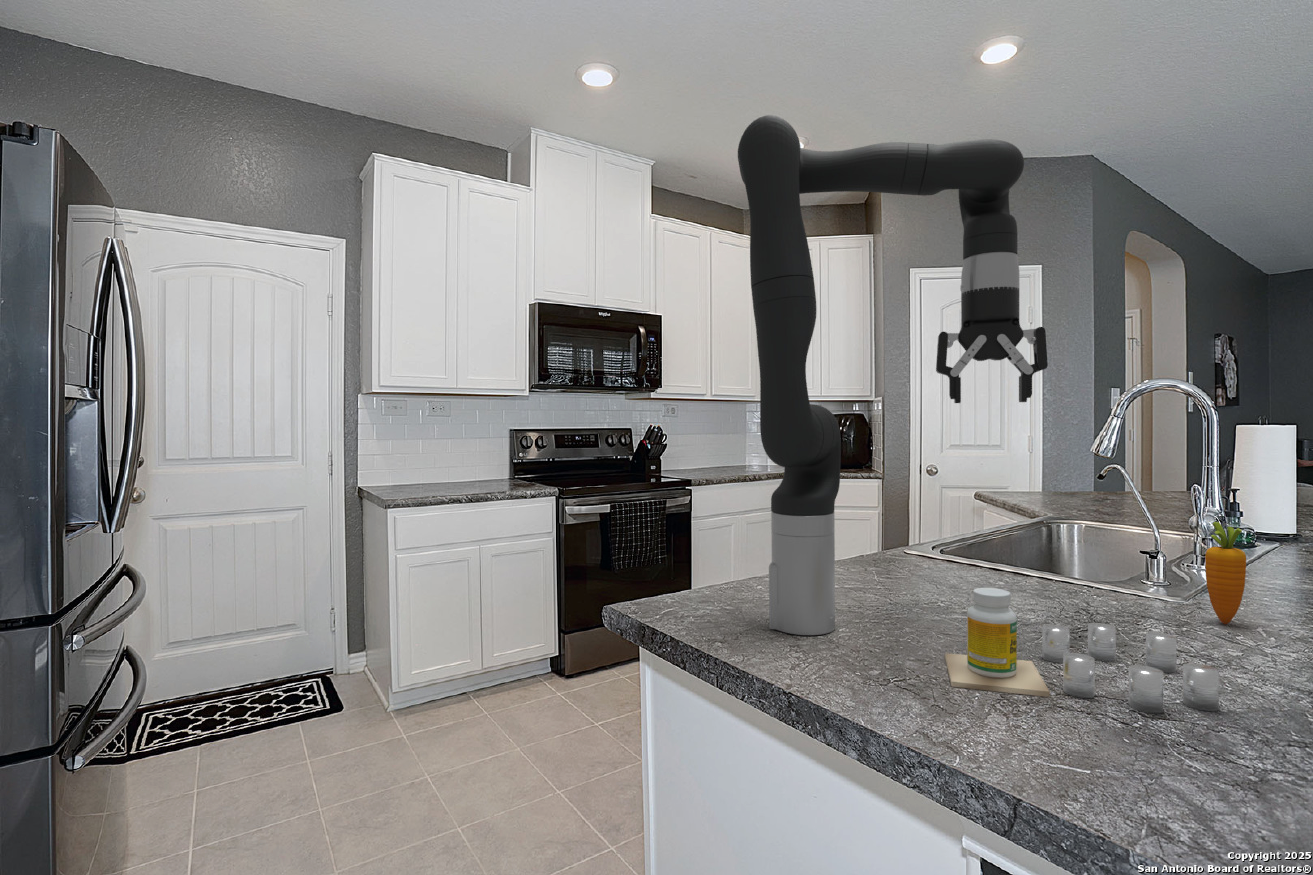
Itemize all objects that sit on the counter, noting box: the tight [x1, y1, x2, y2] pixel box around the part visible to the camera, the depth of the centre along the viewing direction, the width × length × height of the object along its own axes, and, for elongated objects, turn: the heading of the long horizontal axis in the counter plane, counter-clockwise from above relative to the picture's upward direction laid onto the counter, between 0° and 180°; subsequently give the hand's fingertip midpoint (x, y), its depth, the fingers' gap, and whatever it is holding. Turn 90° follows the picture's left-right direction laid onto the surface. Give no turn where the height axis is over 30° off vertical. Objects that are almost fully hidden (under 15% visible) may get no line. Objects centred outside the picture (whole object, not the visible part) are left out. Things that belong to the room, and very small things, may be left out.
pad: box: [944, 652, 1051, 698], centre depth 81 cm, size 10×10×1 cm
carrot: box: [1204, 521, 1247, 626], centre depth 100 cm, size 5×5×15 cm
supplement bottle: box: [966, 587, 1018, 678], centre depth 81 cm, size 5×5×10 cm
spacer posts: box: [1041, 622, 1220, 714], centre depth 80 cm, size 14×19×4 cm
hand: (989, 402), depth 98 cm, fingers open, 8 cm apart
